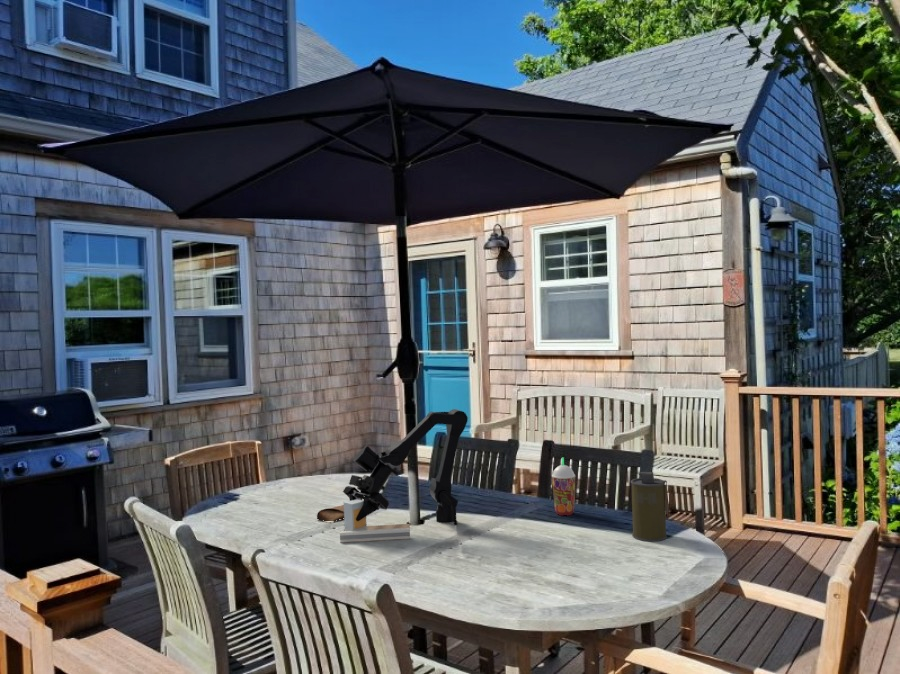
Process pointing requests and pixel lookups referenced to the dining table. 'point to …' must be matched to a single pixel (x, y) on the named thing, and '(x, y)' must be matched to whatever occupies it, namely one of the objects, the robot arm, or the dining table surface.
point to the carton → (353, 516)
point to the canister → (649, 508)
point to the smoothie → (563, 489)
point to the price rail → (375, 535)
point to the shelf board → (384, 528)
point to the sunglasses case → (331, 513)
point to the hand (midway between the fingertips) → (351, 519)
